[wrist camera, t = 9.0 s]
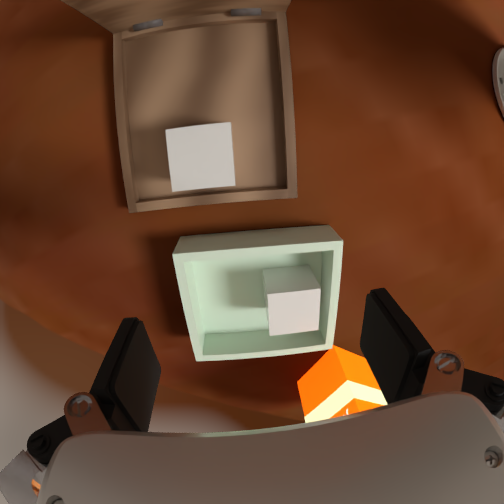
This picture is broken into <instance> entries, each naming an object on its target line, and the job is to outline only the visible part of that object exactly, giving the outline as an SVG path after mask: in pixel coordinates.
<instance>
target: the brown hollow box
mask: <svg viewBox="0 0 504 504" xmlns="http://www.w3.org/2000/svg"><path fill="white" fill-rule="evenodd" d="M61 1H62V2H64V3H66V4H68V5H69V6H71V7H73V8H74V9H76V10H77V11H79V12H81V13H82V14H84V15H85V16H87V17H89V18H90V19H92V20H93V21H95V22H96V23H98V24H99V25H101V26H102V27H104V28H105V29H107V30H108V31H110V32H111V33H113V69H114V93H115V109H116V121H117V132H118V141H119V150H120V158H121V165H122V173H123V179H124V186H125V192H126V198H127V204H128V209H129V213H134V212H142V211H150V210H159V209H168V208H177V207H186V206H196V205H206V204H217V203H229V202H241V201H254V200H269V199H284V198H297V167H296V141H295V121H294V103H293V87H292V74H291V61H290V49H289V38H288V28H287V18H286V10H287V8H288V6H289V4H290V2H291V0H61ZM225 122H231V125H232V138H233V152H234V165H235V186H225V187H214V188H204V189H194V190H185V191H176V192H172V185H171V177H170V169H169V160H168V151H167V142H166V131H165V130H167V129H174V128H181V127H188V126H196V125H205V124H214V123H225Z"/></svg>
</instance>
